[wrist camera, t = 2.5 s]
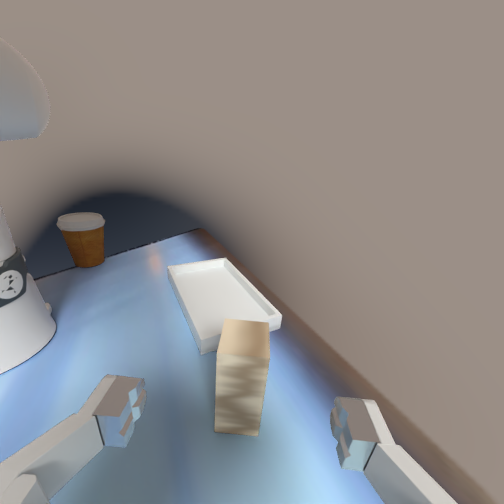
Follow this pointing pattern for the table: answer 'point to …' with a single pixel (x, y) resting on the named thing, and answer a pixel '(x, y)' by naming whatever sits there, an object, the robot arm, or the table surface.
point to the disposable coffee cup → (84, 237)
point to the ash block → (241, 376)
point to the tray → (217, 299)
